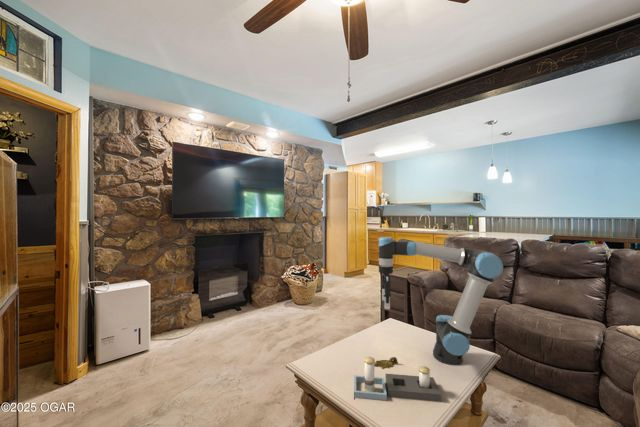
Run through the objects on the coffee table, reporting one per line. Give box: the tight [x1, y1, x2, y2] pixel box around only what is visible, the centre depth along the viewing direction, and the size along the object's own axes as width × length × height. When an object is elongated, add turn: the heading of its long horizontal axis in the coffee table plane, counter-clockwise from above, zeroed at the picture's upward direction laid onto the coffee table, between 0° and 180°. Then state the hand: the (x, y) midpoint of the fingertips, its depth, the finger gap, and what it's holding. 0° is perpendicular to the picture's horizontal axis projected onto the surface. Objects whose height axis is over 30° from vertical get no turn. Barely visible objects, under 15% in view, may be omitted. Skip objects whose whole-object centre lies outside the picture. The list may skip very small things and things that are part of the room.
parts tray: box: [353, 375, 388, 401], centre depth 121 cm, size 14×12×3 cm
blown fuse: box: [363, 356, 376, 392], centre depth 121 cm, size 5×5×14 cm
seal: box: [374, 356, 399, 370], centre depth 141 cm, size 9×5×15 cm
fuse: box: [418, 365, 431, 389], centre depth 120 cm, size 5×5×10 cm
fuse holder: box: [385, 373, 442, 403], centre depth 120 cm, size 22×12×4 cm, turn 82°
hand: (385, 304), depth 144 cm, fingers open, 13 cm apart
